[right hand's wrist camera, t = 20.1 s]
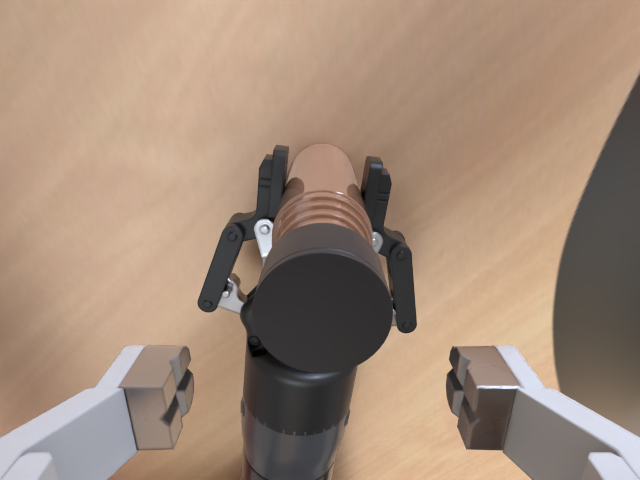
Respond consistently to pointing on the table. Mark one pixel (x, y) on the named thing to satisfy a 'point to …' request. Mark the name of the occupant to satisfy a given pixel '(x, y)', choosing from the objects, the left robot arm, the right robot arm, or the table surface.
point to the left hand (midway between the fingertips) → (328, 155)
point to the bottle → (322, 194)
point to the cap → (322, 299)
